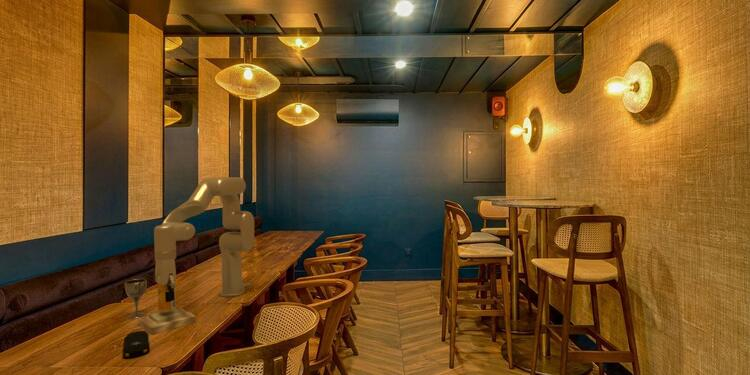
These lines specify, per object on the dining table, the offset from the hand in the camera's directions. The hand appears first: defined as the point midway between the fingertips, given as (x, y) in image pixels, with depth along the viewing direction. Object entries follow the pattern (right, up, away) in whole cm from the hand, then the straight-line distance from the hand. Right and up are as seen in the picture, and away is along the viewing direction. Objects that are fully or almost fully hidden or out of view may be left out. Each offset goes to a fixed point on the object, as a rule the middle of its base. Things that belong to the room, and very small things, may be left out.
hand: (167, 299), depth 147 cm
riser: (0, -10, 0) cm, 10 cm away
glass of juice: (0, -5, 0) cm, 5 cm away
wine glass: (-19, -10, +10) cm, 24 cm away
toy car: (+2, -11, -22) cm, 25 cm away
